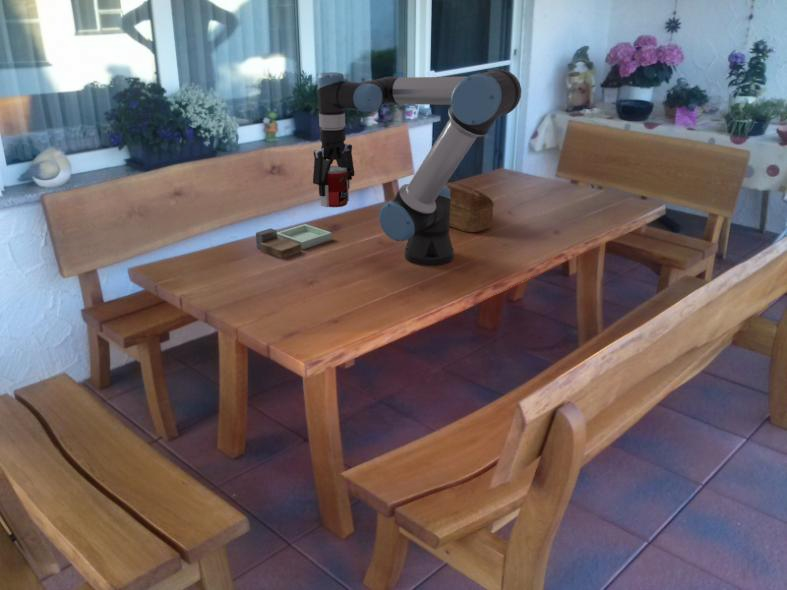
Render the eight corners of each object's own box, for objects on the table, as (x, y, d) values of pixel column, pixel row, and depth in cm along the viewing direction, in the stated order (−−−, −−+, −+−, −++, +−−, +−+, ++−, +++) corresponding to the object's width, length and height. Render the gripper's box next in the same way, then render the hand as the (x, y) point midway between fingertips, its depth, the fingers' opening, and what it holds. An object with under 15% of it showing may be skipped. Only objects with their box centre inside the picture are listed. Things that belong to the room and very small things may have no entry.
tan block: (301, 253, 236) (300, 244, 235) (282, 260, 230) (281, 250, 229) (279, 245, 242) (279, 237, 241) (260, 252, 236) (260, 243, 235)
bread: (474, 237, 250) (476, 198, 245) (409, 216, 270) (409, 179, 265) (497, 229, 258) (500, 191, 252) (432, 209, 278) (433, 173, 273)
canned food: (344, 208, 225) (343, 172, 220) (318, 206, 226) (317, 171, 222) (350, 201, 232) (349, 166, 227) (325, 199, 233) (324, 164, 229)
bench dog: (277, 245, 241) (276, 230, 239) (262, 249, 237) (261, 234, 235) (271, 242, 243) (270, 228, 241) (256, 247, 239) (255, 232, 237)
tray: (331, 239, 246) (331, 232, 245) (302, 249, 237) (301, 242, 236) (305, 230, 254) (305, 223, 253) (275, 240, 245) (275, 233, 244)
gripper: (348, 121, 229) (350, 194, 238) (297, 131, 215) (301, 208, 224) (366, 124, 224) (367, 198, 233) (315, 134, 210) (318, 213, 219)
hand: (334, 203), depth 229 cm, fingers closed on canned food, 8 cm apart
